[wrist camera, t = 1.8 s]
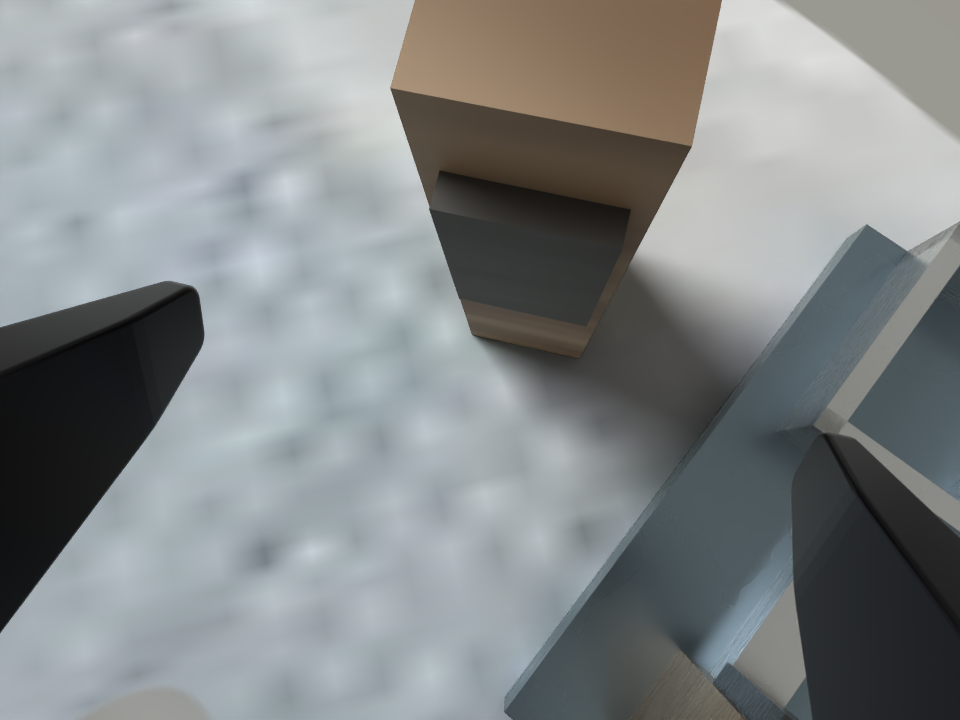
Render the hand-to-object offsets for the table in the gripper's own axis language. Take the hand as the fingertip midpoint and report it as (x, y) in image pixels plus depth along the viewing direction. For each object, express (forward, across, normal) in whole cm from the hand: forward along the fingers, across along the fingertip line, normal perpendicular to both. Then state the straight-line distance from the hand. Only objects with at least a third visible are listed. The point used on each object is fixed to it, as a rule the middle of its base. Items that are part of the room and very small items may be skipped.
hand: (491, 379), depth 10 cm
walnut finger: (+12, 0, +5) cm, 13 cm away
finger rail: (+7, -10, +9) cm, 15 cm away
